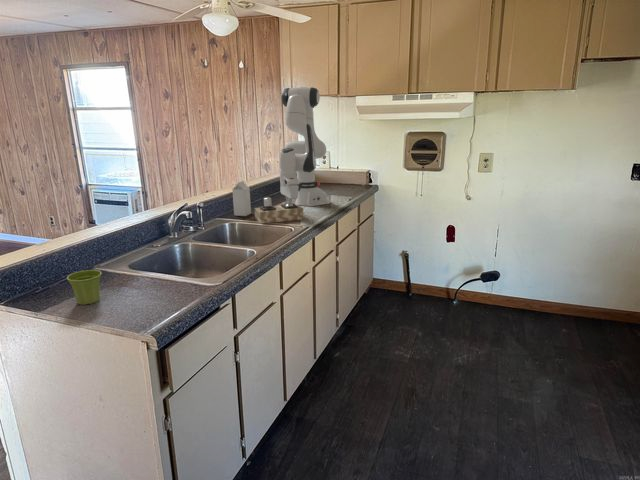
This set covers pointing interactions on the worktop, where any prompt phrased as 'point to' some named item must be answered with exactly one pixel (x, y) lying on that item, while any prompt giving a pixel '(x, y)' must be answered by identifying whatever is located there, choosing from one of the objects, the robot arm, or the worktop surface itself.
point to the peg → (267, 203)
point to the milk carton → (241, 199)
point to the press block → (278, 213)
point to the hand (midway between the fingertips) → (289, 204)
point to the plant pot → (85, 286)
